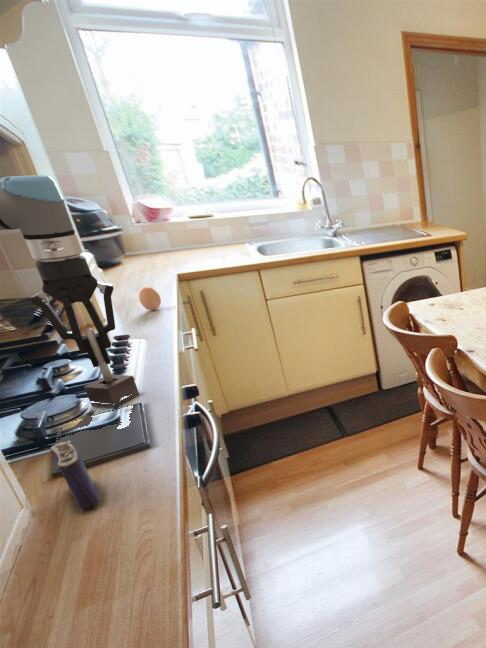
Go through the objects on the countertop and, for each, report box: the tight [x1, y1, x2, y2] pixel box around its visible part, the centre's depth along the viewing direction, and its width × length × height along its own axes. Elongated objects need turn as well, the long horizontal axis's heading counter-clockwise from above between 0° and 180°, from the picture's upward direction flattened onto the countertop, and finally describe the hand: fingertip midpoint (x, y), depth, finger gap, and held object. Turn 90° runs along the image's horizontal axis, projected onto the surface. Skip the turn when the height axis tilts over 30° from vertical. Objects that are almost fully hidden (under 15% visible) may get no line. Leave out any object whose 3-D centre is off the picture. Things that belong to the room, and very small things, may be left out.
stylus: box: [84, 328, 114, 384], centre depth 102 cm, size 2×2×14 cm
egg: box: [138, 286, 162, 311], centre depth 161 cm, size 6×6×8 cm
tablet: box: [50, 401, 152, 479], centre depth 92 cm, size 20×14×1 cm
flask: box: [50, 440, 101, 512], centre depth 75 cm, size 9×3×11 cm, turn 50°
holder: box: [83, 373, 140, 409], centre depth 105 cm, size 6×6×5 cm
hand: (102, 363), depth 102 cm, fingers closed on stylus, 1 cm apart
